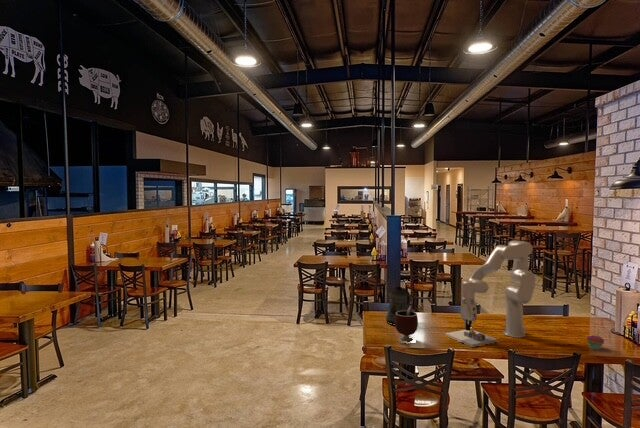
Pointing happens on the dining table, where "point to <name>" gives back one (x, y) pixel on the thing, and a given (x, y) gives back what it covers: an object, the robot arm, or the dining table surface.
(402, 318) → the mate gourd
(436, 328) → the dining table surface
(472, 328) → the bolt
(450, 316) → the dining table surface
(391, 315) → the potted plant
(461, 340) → the grey flat board
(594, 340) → the cupcake
